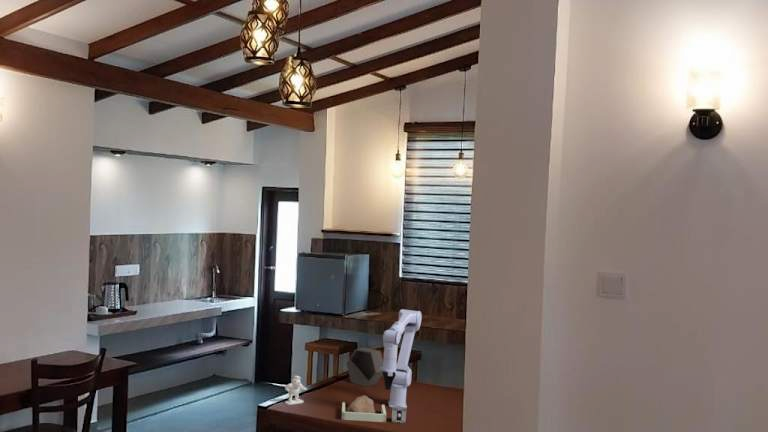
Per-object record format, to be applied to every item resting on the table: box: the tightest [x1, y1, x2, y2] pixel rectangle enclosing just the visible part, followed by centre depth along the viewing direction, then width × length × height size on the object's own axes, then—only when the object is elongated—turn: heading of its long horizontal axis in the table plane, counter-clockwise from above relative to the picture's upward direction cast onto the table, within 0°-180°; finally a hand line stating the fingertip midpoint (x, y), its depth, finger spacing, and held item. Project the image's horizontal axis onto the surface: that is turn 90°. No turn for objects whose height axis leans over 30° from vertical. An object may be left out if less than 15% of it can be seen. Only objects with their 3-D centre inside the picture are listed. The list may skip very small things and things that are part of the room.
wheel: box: [397, 406, 401, 419], centre depth 292 cm, size 6×5×5 cm
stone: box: [346, 394, 376, 414], centre depth 295 cm, size 12×9×10 cm
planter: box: [346, 347, 386, 388], centre depth 355 cm, size 17×8×21 cm
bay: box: [341, 401, 387, 423], centre depth 296 cm, size 16×18×3 cm
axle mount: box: [391, 406, 407, 424], centre depth 290 cm, size 2×6×6 cm, turn 93°
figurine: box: [284, 375, 308, 406], centre depth 308 cm, size 9×7×12 cm
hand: (387, 389), depth 302 cm, fingers closed
